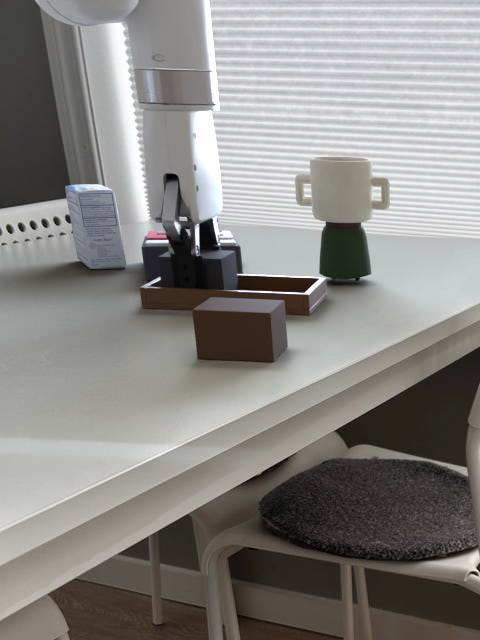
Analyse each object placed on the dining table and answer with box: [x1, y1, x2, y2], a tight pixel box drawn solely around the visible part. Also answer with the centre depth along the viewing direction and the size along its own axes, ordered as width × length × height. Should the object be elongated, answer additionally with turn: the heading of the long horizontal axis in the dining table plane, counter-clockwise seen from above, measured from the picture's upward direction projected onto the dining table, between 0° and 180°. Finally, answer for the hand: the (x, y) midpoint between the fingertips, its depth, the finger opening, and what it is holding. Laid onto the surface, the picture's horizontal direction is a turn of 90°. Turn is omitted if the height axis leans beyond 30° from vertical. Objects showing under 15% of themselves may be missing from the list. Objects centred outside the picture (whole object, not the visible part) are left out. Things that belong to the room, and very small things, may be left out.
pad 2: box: [191, 297, 289, 363], centre depth 81 cm, size 6×6×4 cm
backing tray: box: [138, 273, 328, 316], centre depth 100 cm, size 17×10×2 cm, turn 88°
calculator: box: [140, 229, 244, 281], centre depth 115 cm, size 11×4×15 cm
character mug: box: [294, 156, 391, 282], centre depth 110 cm, size 11×7×13 cm, turn 85°
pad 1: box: [158, 250, 239, 290], centre depth 99 cm, size 6×6×4 cm
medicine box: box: [64, 183, 127, 270], centre depth 115 cm, size 8×4×9 cm, turn 30°
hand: (200, 288), depth 100 cm, fingers closed on pad 1, 5 cm apart
